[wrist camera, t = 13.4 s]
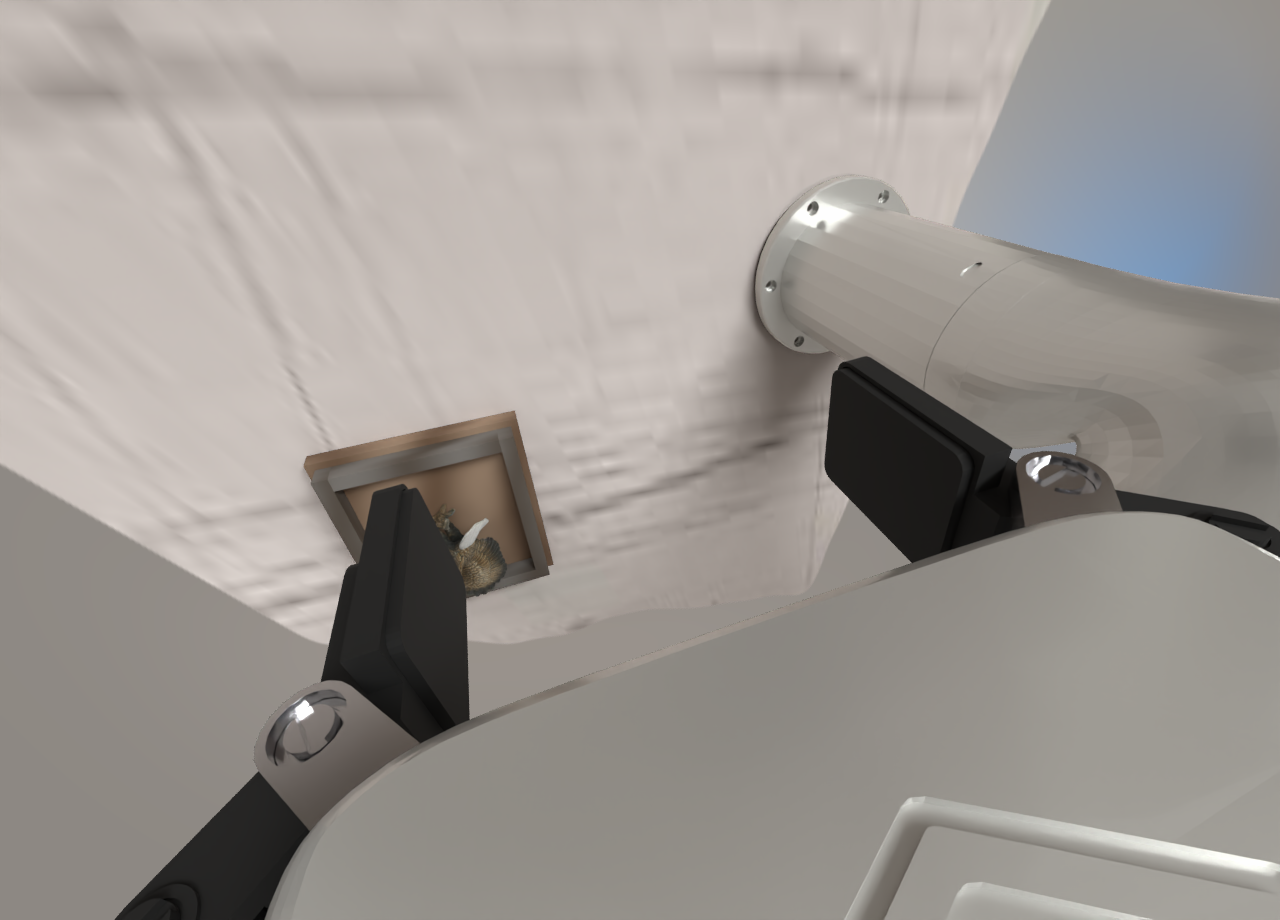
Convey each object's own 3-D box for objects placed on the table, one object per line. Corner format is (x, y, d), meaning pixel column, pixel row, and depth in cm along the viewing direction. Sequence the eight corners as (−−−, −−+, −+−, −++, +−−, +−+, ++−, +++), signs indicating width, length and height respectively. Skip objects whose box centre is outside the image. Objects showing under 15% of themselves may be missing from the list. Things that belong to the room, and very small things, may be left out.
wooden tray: (514, 410, 39) (519, 429, 36) (551, 555, 47) (556, 576, 45) (306, 456, 36) (298, 479, 34) (386, 600, 45) (384, 626, 43)
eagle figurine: (363, 538, 38) (417, 641, 40) (400, 549, 33) (460, 666, 35) (456, 489, 43) (500, 583, 45) (501, 492, 37) (547, 598, 40)
